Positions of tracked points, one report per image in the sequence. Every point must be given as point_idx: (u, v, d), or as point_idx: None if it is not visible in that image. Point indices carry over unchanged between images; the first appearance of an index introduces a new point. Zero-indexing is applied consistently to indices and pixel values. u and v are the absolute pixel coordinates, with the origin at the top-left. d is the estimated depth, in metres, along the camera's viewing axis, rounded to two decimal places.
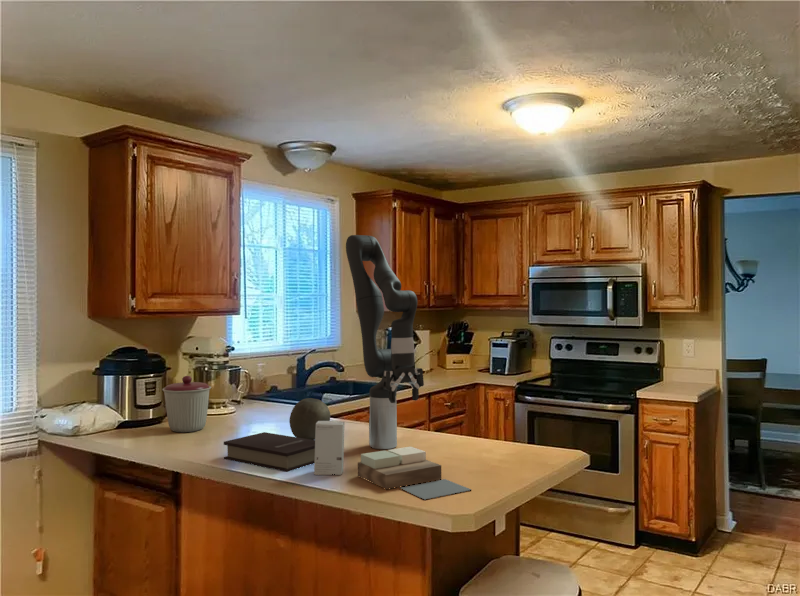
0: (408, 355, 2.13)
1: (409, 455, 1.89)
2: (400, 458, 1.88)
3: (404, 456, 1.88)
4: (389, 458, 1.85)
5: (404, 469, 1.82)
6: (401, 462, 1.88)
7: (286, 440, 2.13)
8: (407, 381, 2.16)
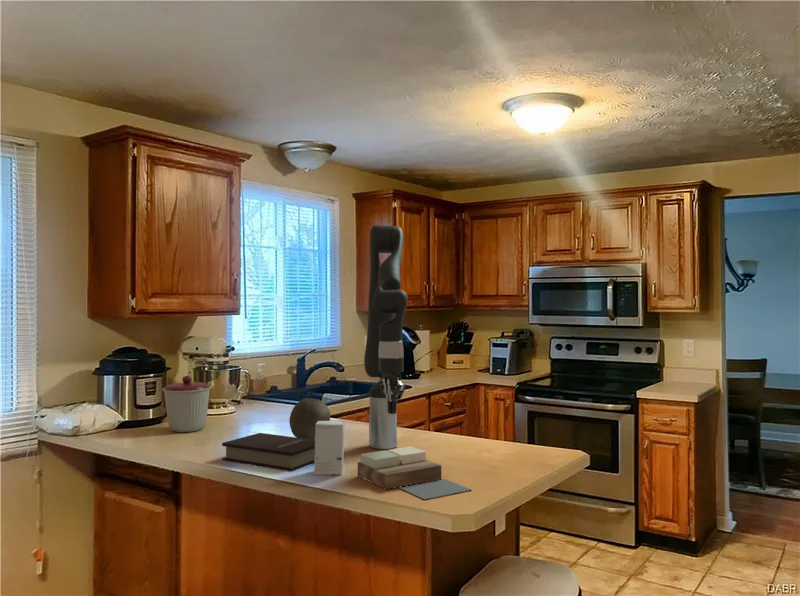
0: None
1: (409, 455, 1.89)
2: (400, 458, 1.88)
3: (404, 456, 1.88)
4: (389, 458, 1.85)
5: (404, 469, 1.82)
6: (401, 462, 1.88)
7: (285, 440, 2.13)
8: None
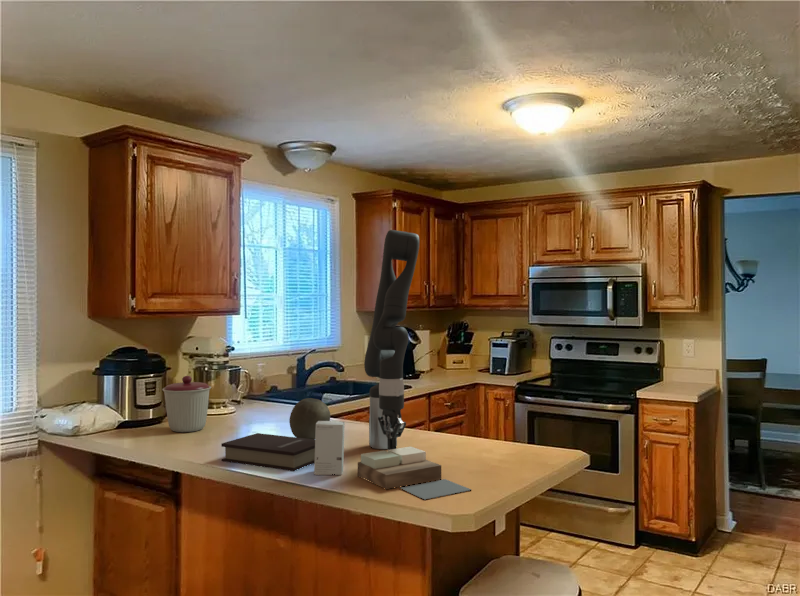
0: None
1: (409, 455, 1.89)
2: (400, 458, 1.88)
3: (404, 456, 1.88)
4: (389, 458, 1.85)
5: (404, 469, 1.82)
6: (401, 462, 1.88)
7: (285, 440, 2.13)
8: None
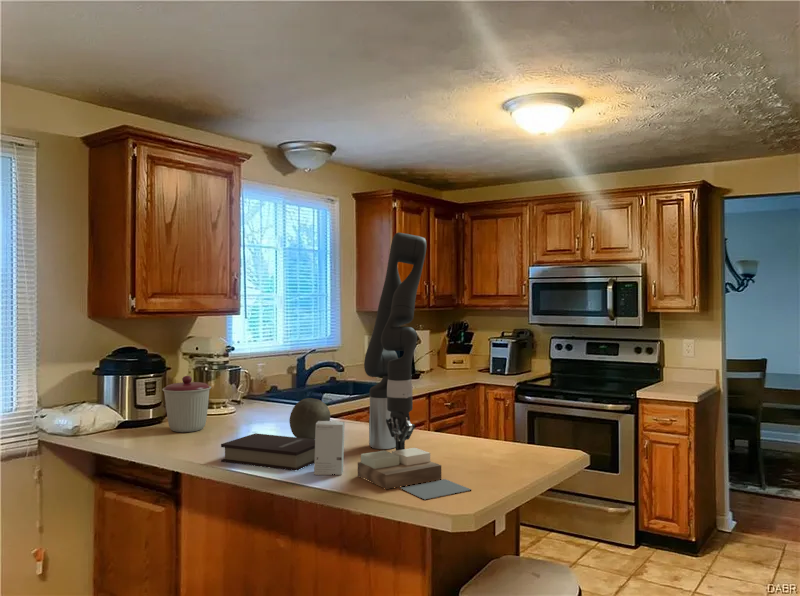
0: None
1: (413, 456, 1.87)
2: (405, 459, 1.87)
3: (408, 457, 1.86)
4: (389, 458, 1.85)
5: (404, 469, 1.82)
6: (405, 463, 1.86)
7: (285, 440, 2.13)
8: None
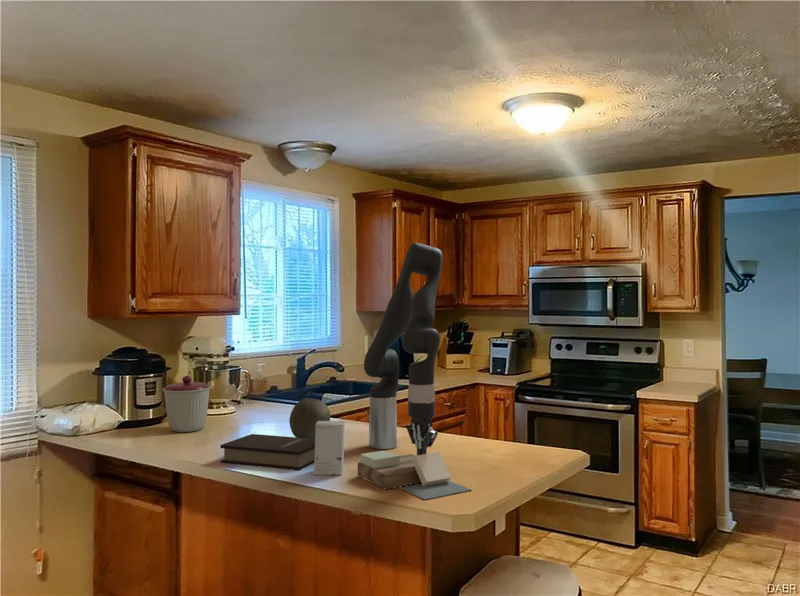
0: None
1: (433, 481, 1.79)
2: (423, 480, 1.78)
3: (428, 482, 1.78)
4: (389, 458, 1.85)
5: (404, 469, 1.82)
6: (422, 484, 1.79)
7: (284, 440, 2.13)
8: None
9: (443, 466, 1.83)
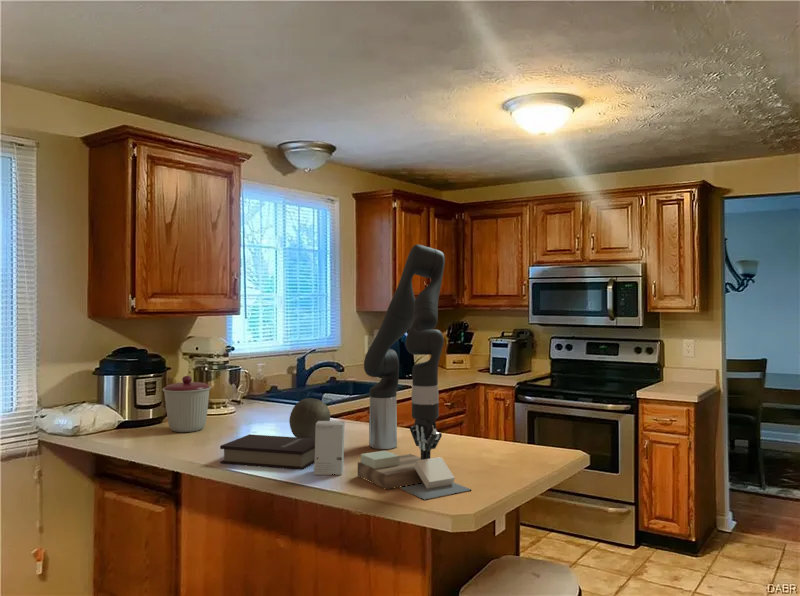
0: None
1: (436, 481, 1.77)
2: (426, 482, 1.76)
3: (431, 482, 1.76)
4: (389, 458, 1.85)
5: (404, 469, 1.82)
6: (426, 486, 1.77)
7: (284, 440, 2.13)
8: None
9: (445, 468, 1.81)
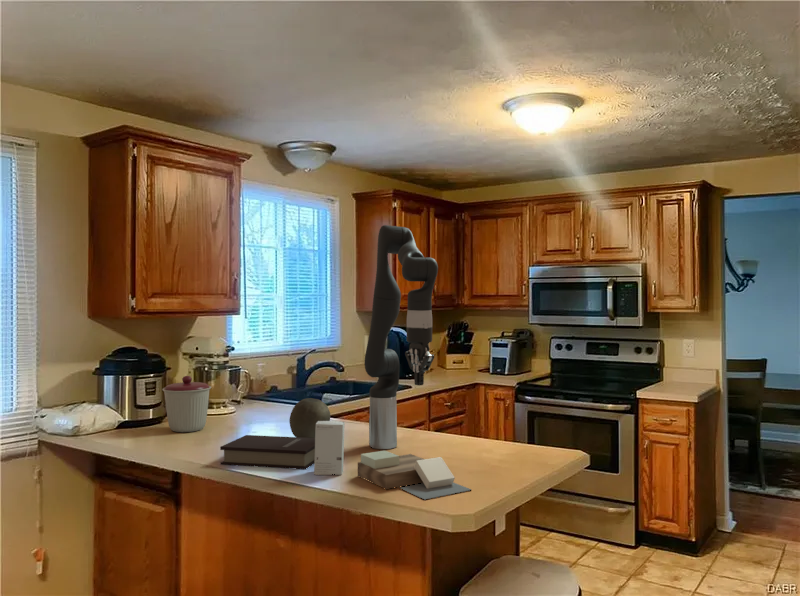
0: None
1: (436, 481, 1.77)
2: (426, 482, 1.76)
3: (431, 482, 1.76)
4: (389, 458, 1.85)
5: (404, 469, 1.82)
6: (426, 486, 1.77)
7: (283, 440, 2.13)
8: None
9: (445, 468, 1.81)
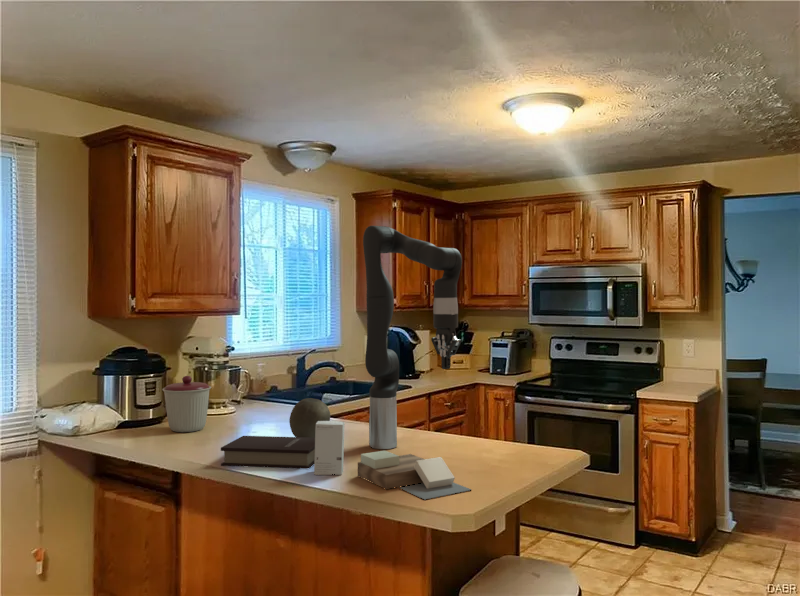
0: None
1: (436, 481, 1.77)
2: (426, 482, 1.76)
3: (431, 482, 1.76)
4: (389, 458, 1.85)
5: (404, 469, 1.82)
6: (426, 486, 1.77)
7: (283, 440, 2.13)
8: None
9: (445, 468, 1.81)
